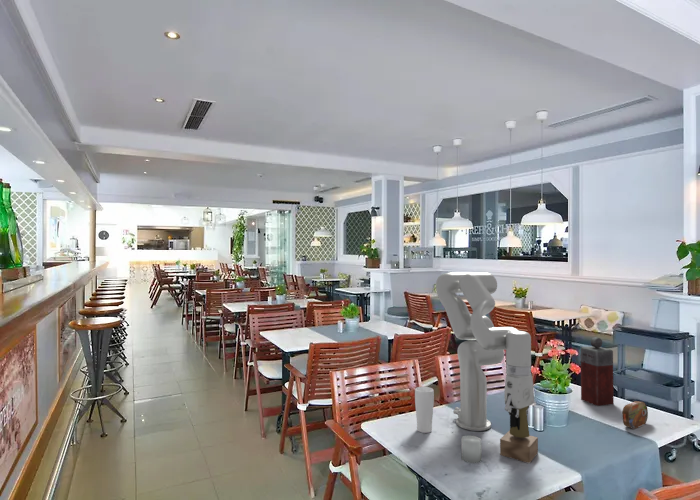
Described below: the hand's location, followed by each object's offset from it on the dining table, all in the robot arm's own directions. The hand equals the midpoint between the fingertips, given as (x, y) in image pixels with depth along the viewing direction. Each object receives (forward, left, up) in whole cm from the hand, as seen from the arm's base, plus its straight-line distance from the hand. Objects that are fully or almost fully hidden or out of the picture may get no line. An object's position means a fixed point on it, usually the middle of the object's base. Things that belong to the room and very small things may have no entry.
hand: (518, 426), depth 138 cm
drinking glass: (-31, -11, -9) cm, 34 cm away
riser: (0, 0, -9) cm, 9 cm away
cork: (0, 0, -2) cm, 2 cm away
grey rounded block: (-7, -15, -9) cm, 19 cm away
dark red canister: (-10, +74, -9) cm, 75 cm away
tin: (+12, +57, -9) cm, 59 cm away
